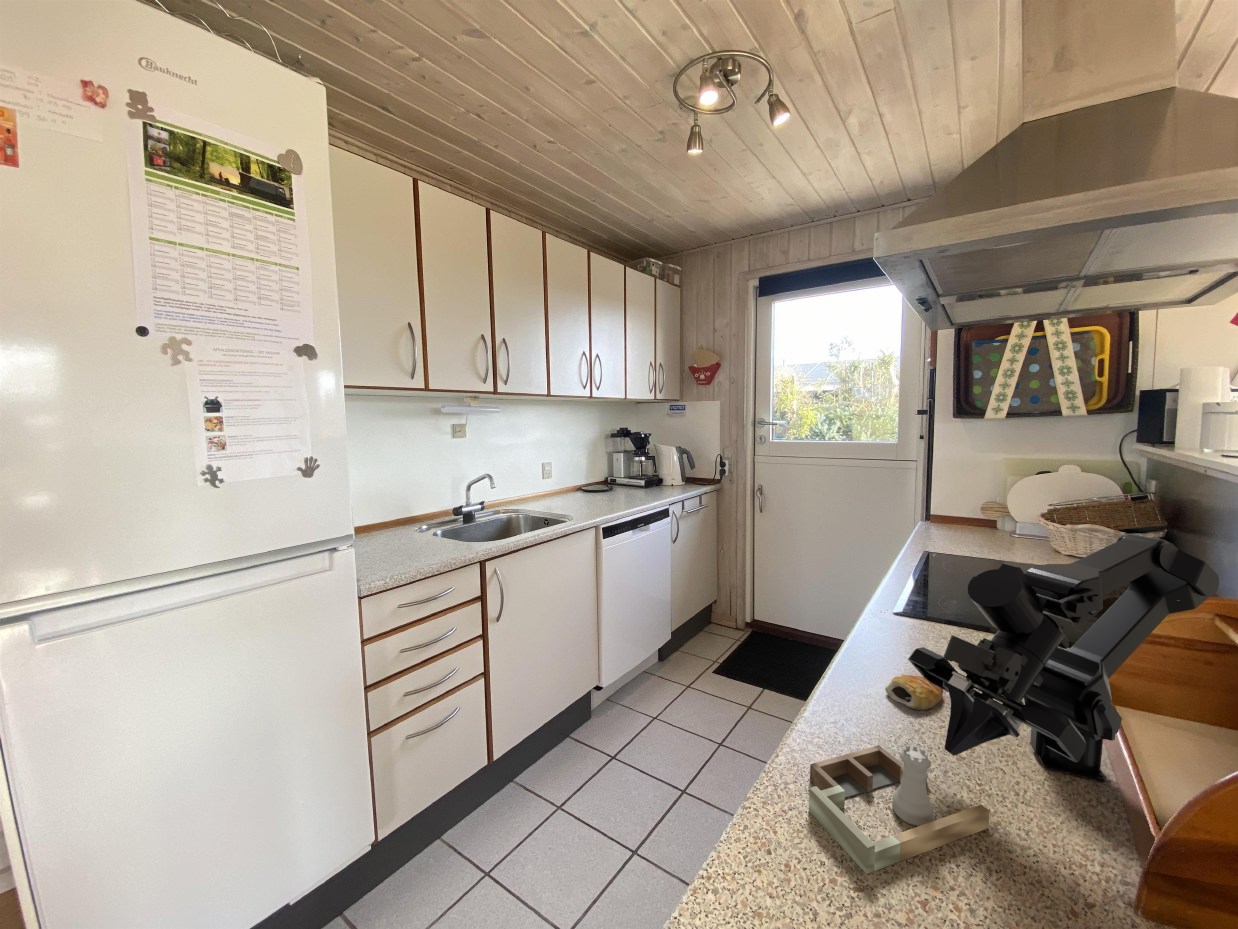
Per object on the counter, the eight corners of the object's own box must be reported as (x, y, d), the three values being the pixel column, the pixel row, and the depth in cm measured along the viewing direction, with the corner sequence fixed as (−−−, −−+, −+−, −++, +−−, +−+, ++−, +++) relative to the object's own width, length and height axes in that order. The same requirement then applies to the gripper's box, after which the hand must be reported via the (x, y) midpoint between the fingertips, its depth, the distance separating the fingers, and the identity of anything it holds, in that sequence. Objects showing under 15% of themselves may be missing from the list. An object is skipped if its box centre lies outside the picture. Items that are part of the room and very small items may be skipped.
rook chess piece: (895, 794, 64) (898, 735, 63) (936, 812, 61) (940, 750, 60) (887, 816, 60) (890, 754, 60) (931, 835, 58) (934, 770, 57)
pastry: (916, 682, 91) (917, 662, 90) (955, 701, 85) (956, 680, 84) (881, 695, 87) (882, 674, 86) (919, 716, 81) (921, 694, 80)
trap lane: (893, 755, 71) (894, 735, 71) (988, 828, 59) (990, 804, 58) (786, 786, 65) (786, 765, 65) (866, 874, 53) (867, 847, 53)
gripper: (921, 590, 71) (855, 679, 68) (1077, 648, 53) (997, 769, 51) (959, 636, 74) (897, 722, 72) (1118, 704, 56) (1044, 821, 54)
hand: (949, 752), depth 62 cm, fingers closed
